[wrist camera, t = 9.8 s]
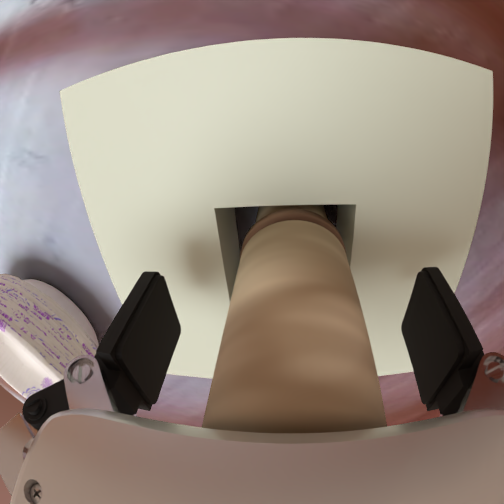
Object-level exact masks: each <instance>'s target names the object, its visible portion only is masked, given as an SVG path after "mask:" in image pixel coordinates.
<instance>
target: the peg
mask: <svg viewBox="0 0 504 504" xmlns="http://www.w3.org/2000/svg"><path fill="white" fill-rule="evenodd" d="M380 427H387V424H386V418H385V412H384V406H383V401H382V395H381V390H380V385H379V380H378V375H377V370H376V365H375V361H374V356H373V352H372V348H371V343H370V339H369V335H368V331H367V327H366V323H365V319H364V315H363V312H362V308H361V304H360V300H359V297H358V293H357V290H356V286H355V283H354V279H353V276H352V273H351V269H350V266H349V263H348V259H347V254H346V249H345V246H344V243H343V240H342V237H341V235H340V233H339V232H338V230H337V229H336V227H335V226H334V225H333V224H332V223H331V222H330V221H329V220H328V219H327V215H326V212H325V209H324V206H323V205H278V206H259V208H258V212H257V218H256V223H255V224H254V225H253V226H252V227H251V228H250V230H249V231H248V233H247V234H246V236H245V239H244V241H243V245H242V249H241V253H240V263H239V267H238V271H237V275H236V280H235V284H234V288H233V292H232V297H231V301H230V305H229V309H228V314H227V318H226V322H225V327H224V331H223V335H222V340H221V344H220V348H219V353H218V357H217V362H216V366H215V370H214V375H213V379H212V384H211V388H210V393H209V397H208V402H207V406H206V411H205V415H204V420H203V424H202V428H209V429H217V430H228V431H240V432H256V433H326V432H342V431H354V430H364V429H373V428H380Z"/></svg>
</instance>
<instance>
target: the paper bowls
mask: <svg viewBox="0 0 504 504" xmlns="http://www.w3.org/2000/svg"><path fill="white" fill-rule="evenodd" d="M98 346H99V345H98V340H97V336H96V334H95V331H94V329H93V327H92V325H91V324H90V322H89V320H88V319H87V317H86V316H85V315H84V314H83V312H82V311H81V310H80V309H79V308H78V307H77V306H76V305H75V304H74V303H73V302H72V301H71V300H70V299H69V298H68V297H67V296H66V295H64V294H63V293H62V292H60V291H59V290H58V289H56V288H54V287H53V286H51V285H49V284H47V283H45V282H42V281H39V280H34V279H27V280H20V278H18V277H15V276H11V275H8V274H0V376H1V377H2V378H3V379H4V380H5V381H6V382H7V383H8V384H9V385H10V386H11V387H12V388H14V389H15V390H16V391H17V392H18V393H20V394H21V395H22V396H23V397H25V398H26V399H28V397H29V396H31V395H32V394H34V393H36V392H38V391H40V390H42V389H44V388H46V387H48V386H50V385H52V384H54V383H56V382H58V381H60V380H62V379H64V370H65V367H66V366H67V364H68V363H69V362H70V361H71V360H72V359H74V358H75V357H77V356H80V355H91V356H93V357H94V356H95V354H96V350H97V348H98Z"/></svg>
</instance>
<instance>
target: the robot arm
mask: <svg viewBox="0 0 504 504" xmlns="http://www.w3.org/2000/svg"><path fill="white" fill-rule="evenodd" d="M401 331H402V335H403V338H404V341H405V344H406V347H407V350H408V354H409V357H410V360H411V364H412V367H413V371H414V374H415V378H416V381H417V385H418V389H419V393H420V397H421V401H422V403H423V404H426V407H427V411H430V410H435V409H439V410H440V414H441V415H440V417H437V418H433V419H428V420H423V421H417V422H412V423H406V424H400V425H394V426H388V427H380V428H373V429H364V430H354V431H342V432H326V433H256V432H240V431H228V430H217V429H209V428H201V427H193V426H186V425H180V424H174V423H168V422H162V421H157V420H152V419H146V418H141V417H137V415H136V413H137V410H138V408H139V409H143V410H148V411H150V409H151V406H152V404H155V403H156V402H157V399H158V396H159V394H160V391H161V388H162V385H163V382H164V379H165V376H166V373H167V370H168V368H169V365H170V362H171V359H172V356H173V354H174V351H175V348H176V345H177V342H178V340H179V337H180V334H181V325H180V322H179V319H178V317H177V314H176V311H175V308H174V305H173V302H172V299H171V296H170V293H169V290H168V287H167V283H166V280H165V278H164V276H162V275H160V273H159V272H148V271H145V272H143V273H142V274H141V276H140V278H139V279H138V281H137V282H136V284H135V285H134V287H133V289H132V290H131V292H130V293H129V295H128V297H127V298H126V300H125V302H124V303H123V305H122V307H121V308H120V310H119V312H118V313H117V315H116V317H115V318H114V320H113V322H112V323H111V325H110V327H109V329H108V330H107V332H106V334H105V336H104V337H103V339H102V341H101V343H100V345H99V346H98V348H97V350H96V354H95V356H94V357H93V356H91V355H80V356H77V357H75V358H74V359H72V360H71V361H70V362H69V363H68V364H67V366H66V367H65V370H64V379H62V380H60V381H58V382H56V383H54V384H52V385H50V386H48V387H46V388H44V389H42V390H40V391H38V392H36V393H34V394H32V395H31V396H29V397H28V399H27V400H26V401H25V403H24V406H23V414H20V413H18V414H17V415H16V416H15V417H13V418H12V419H11V420H10V421H9V422H8V423H7V424H5V425H4V426H3V427H2V428H1V429H0V474H1V476H2V479H3V481H4V482H5V484H6V486H7V488H8V490H9V492H10V494H11V496H12V498H11V501H10V504H504V356H503V355H501V354H499V353H496V352H490V353H487V354H485V355H484V353H483V351H482V350H483V348H482V345H481V343H480V341H479V339H478V337H477V335H476V333H475V331H474V329H473V327H472V325H471V323H470V321H469V320H468V318H467V316H466V314H465V312H464V310H463V308H462V307H461V305H460V303H459V301H458V299H457V298H456V296H455V294H454V293H453V291H452V289H451V287H450V286H449V284H448V282H447V281H446V279H445V278H444V276H443V274H442V273H441V271H440V270H439V268H438V267H424V268H423V269H422V270H421V271H420V272H418V274H417V277H416V280H415V284H414V287H413V290H412V294H411V297H410V300H409V303H408V306H407V309H406V312H405V315H404V318H403V321H402V325H401Z"/></svg>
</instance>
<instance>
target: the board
mask: <svg viewBox="0 0 504 504" xmlns="http://www.w3.org/2000/svg"><path fill="white" fill-rule="evenodd" d="M60 97H61V104H62V110H63V116H64V122H65V127H66V132H67V137H68V142H69V147H70V151H71V156H72V160H73V164H74V168H75V172H76V176H77V180H78V183H79V187H80V190H81V194H82V197H83V201H84V204H85V207H86V211H87V214H88V217H89V220H90V223H91V226H92V229H93V232H94V235H95V238H96V241H97V244H98V246H99V249H100V252H101V254H102V257H103V260H104V262H105V265H106V267H107V270H108V272H109V275H110V277H111V280H112V282H113V285H114V287H115V289H116V292H117V294H118V296H119V299H120V301H121V303H122V305H123V303H124V302H125V300H126V298H127V297H128V295H129V293H130V292H131V290H132V289H133V287H134V285H135V284H136V282H137V281H138V279H139V278H140V276H141V274H142V273H143V272H145V271H148V272H159V273H160V275H162V276H164V278H165V280H166V283H167V287H168V290H169V293H170V296H171V299H172V302H173V305H174V308H175V311H176V314H177V317H178V319H179V322H180V325H181V334H180V337H179V340H178V342H177V345H176V348H175V351H174V354H173V356H172V359H171V362H170V365H169V368H168V370H167V373H166V374H173V375H182V376H191V377H202V378H213V375H214V370H215V366H216V362H217V357H218V353H219V348H220V344H221V340H222V335H223V331H224V327H225V322H226V318H227V314H228V309H229V305H230V301H231V297H232V292H233V288H234V284H235V280H236V275H237V271H238V267H239V263H240V248H239V240H238V232H237V224H236V215H235V207H251V206H278V205H326V204H338V206H337V226H336V229H337V230H338V232H339V233H340V235H341V237H342V240H343V243H344V246H345V249H346V254H347V259H348V263H349V266H350V269H351V273H352V276H353V279H354V283H355V286H356V290H357V293H358V297H359V300H360V304H361V308H362V312H363V315H364V319H365V323H366V327H367V331H368V335H369V339H370V343H371V348H372V352H373V356H374V361H375V365H376V370H377V375H378V376H383V375H391V374H399V373H406V372H413V367H412V364H411V360H410V357H409V354H408V350H407V347H406V344H405V341H404V338H403V335H402V331H401V325H402V321H403V318H404V315H405V312H406V309H407V306H408V303H409V300H410V297H411V294H412V290H413V287H414V284H415V280H416V277H417V274H418V272H420V271H421V270H422V269H423V268H424V267H438V268H439V270H440V271H441V273H442V274H443V276H444V278H445V279H446V281H447V282H448V284H449V286H450V287H451V289H452V291H453V293H455V291H456V288H457V285H458V283H459V280H460V277H461V274H462V271H463V268H464V265H465V262H466V259H467V256H468V253H469V249H470V246H471V243H472V239H473V235H474V232H475V228H476V224H477V220H478V216H479V211H480V207H481V202H482V197H483V192H484V187H485V181H486V175H487V169H488V162H489V154H490V145H491V134H492V119H493V71H491V70H488V69H485V68H482V67H480V66H477V65H474V64H471V63H467V62H464V61H461V60H458V59H454V58H451V57H447V56H443V55H439V54H435V53H431V52H427V51H423V50H418V49H413V48H408V47H402V46H397V45H390V44H384V43H376V42H368V41H358V40H346V39H329V38H280V39H262V40H250V41H240V42H232V43H224V44H217V45H210V46H204V47H199V48H193V49H188V50H183V51H179V52H174V53H170V54H165V55H161V56H157V57H153V58H150V59H146V60H143V61H139V62H136V63H132V64H129V65H126V66H123V67H120V68H117V69H114V70H111V71H108V72H105V73H102V74H100V75H97V76H94V77H92V78H89V79H87V80H84V81H82V82H79V83H77V84H75V85H72V86H70V87H68V88H65V89H63V90H61V91H60Z"/></svg>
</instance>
